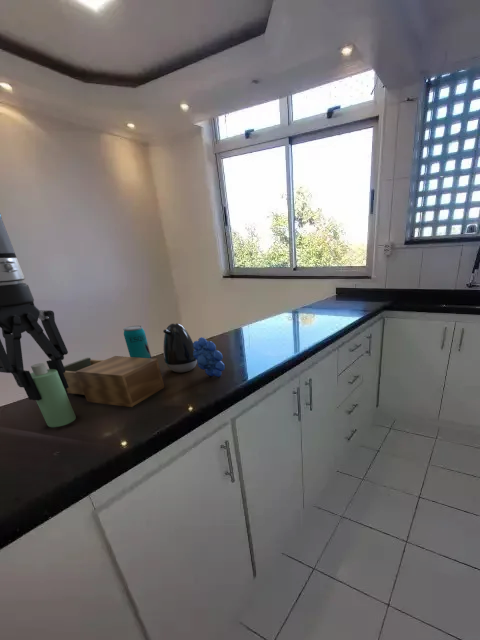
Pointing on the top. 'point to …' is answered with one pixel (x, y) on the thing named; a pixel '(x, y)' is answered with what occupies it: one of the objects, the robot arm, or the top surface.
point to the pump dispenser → (178, 349)
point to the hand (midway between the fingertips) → (49, 393)
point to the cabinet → (121, 380)
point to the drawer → (72, 376)
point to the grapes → (208, 357)
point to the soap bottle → (52, 396)
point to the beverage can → (136, 342)
